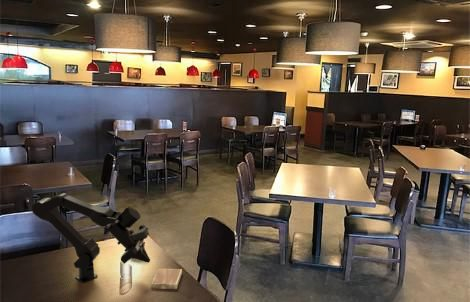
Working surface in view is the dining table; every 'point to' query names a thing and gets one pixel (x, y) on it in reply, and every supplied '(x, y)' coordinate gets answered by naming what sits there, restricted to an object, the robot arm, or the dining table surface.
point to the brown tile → (167, 279)
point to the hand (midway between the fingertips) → (149, 261)
